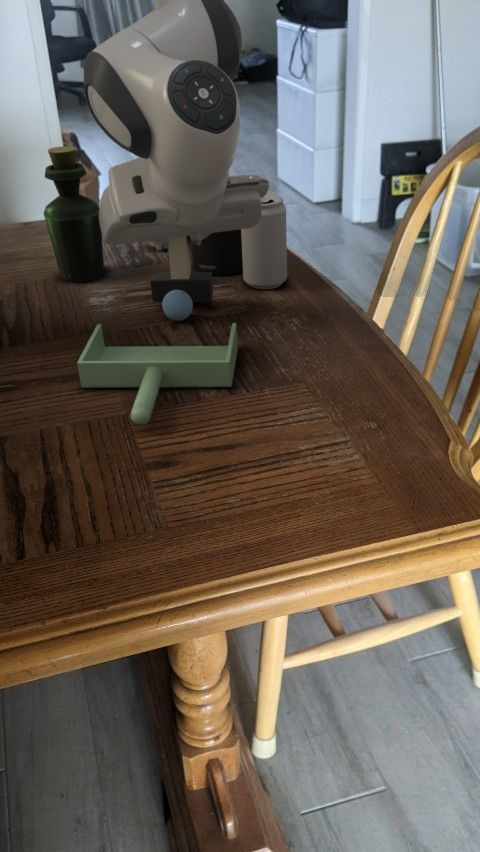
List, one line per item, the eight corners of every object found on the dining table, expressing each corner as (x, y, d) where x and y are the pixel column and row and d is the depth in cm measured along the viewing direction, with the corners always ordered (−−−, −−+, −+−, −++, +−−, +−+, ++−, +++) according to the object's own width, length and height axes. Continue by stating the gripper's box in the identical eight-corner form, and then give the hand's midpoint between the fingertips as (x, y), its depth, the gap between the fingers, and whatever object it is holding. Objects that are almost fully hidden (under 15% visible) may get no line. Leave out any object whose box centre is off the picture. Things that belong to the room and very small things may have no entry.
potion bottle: (110, 264, 122) (93, 141, 112) (108, 282, 116) (89, 154, 105) (58, 267, 122) (35, 144, 111) (52, 286, 115) (27, 157, 105)
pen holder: (182, 262, 122) (176, 197, 116) (236, 252, 125) (233, 188, 120) (205, 281, 115) (200, 213, 109) (262, 270, 118) (260, 203, 113)
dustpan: (101, 349, 97) (97, 324, 95) (237, 348, 96) (236, 322, 94) (59, 436, 80) (52, 407, 78) (223, 436, 79) (221, 407, 78)
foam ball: (161, 325, 102) (158, 296, 100) (166, 313, 106) (163, 285, 103) (192, 325, 102) (189, 296, 100) (195, 313, 106) (193, 285, 103)
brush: (152, 301, 106) (141, 204, 99) (156, 293, 109) (145, 198, 102) (211, 301, 106) (204, 203, 99) (213, 293, 109) (206, 197, 101)
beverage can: (258, 294, 111) (255, 208, 104) (235, 280, 115) (231, 197, 108) (295, 284, 113) (295, 200, 106) (272, 271, 118) (270, 189, 111)
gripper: (266, 151, 94) (246, 212, 107) (94, 169, 89) (96, 230, 102) (278, 199, 93) (257, 254, 106) (106, 219, 88) (106, 274, 101)
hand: (177, 243), depth 104 cm, fingers closed on brush, 3 cm apart
